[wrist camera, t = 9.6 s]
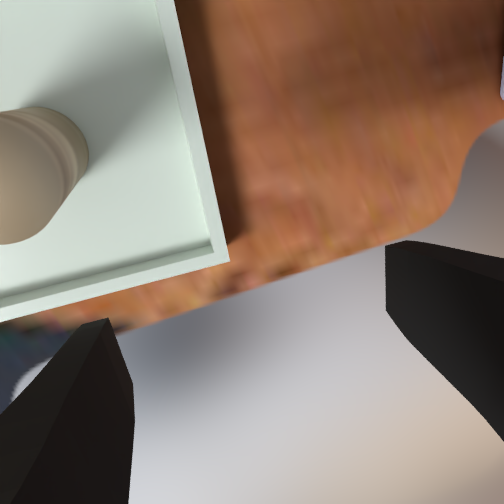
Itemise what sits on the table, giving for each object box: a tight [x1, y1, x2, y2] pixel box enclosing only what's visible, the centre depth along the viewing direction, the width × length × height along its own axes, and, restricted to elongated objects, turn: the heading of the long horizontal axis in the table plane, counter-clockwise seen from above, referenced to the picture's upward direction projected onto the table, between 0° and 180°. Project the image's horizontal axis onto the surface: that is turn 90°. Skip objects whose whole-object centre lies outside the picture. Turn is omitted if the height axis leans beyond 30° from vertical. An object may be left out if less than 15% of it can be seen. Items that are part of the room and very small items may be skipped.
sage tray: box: [0, 0, 230, 322], centre depth 15 cm, size 12×12×2 cm
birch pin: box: [0, 107, 89, 245], centre depth 13 cm, size 3×3×6 cm
